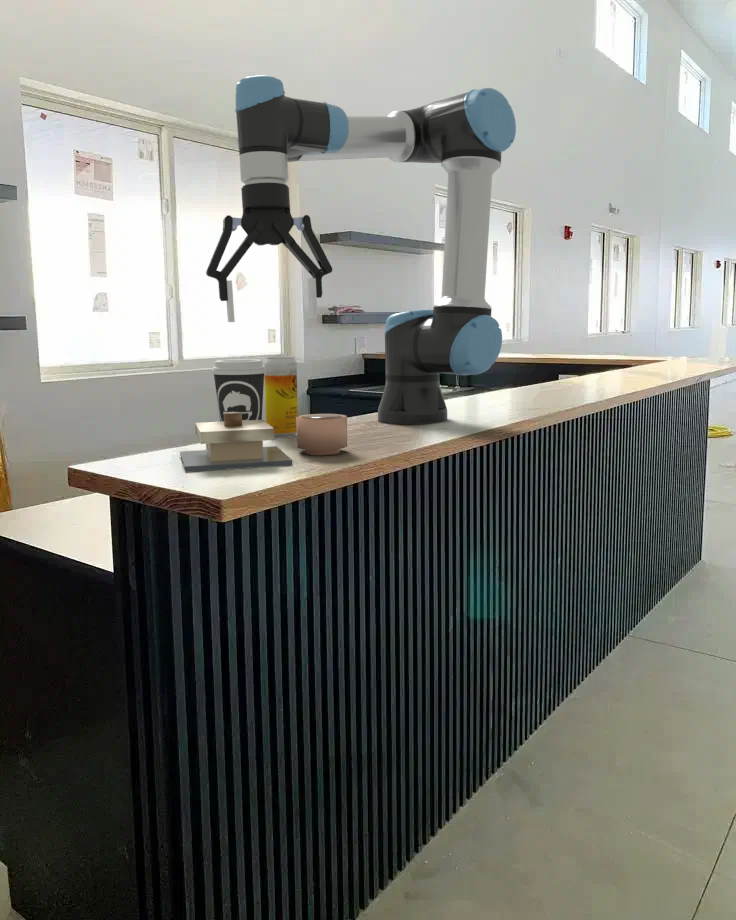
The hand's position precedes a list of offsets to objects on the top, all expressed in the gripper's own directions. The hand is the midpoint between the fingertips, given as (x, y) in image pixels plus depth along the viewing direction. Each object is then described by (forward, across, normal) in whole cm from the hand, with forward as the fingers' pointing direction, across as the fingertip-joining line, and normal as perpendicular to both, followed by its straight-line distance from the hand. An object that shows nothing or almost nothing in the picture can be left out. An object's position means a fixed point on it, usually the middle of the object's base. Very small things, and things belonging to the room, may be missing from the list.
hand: (273, 320), depth 129 cm
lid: (+18, +8, +6) cm, 21 cm away
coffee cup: (+22, +6, -8) cm, 24 cm away
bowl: (+22, -6, +4) cm, 23 cm away
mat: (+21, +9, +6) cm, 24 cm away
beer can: (+22, -4, -17) cm, 29 cm away
